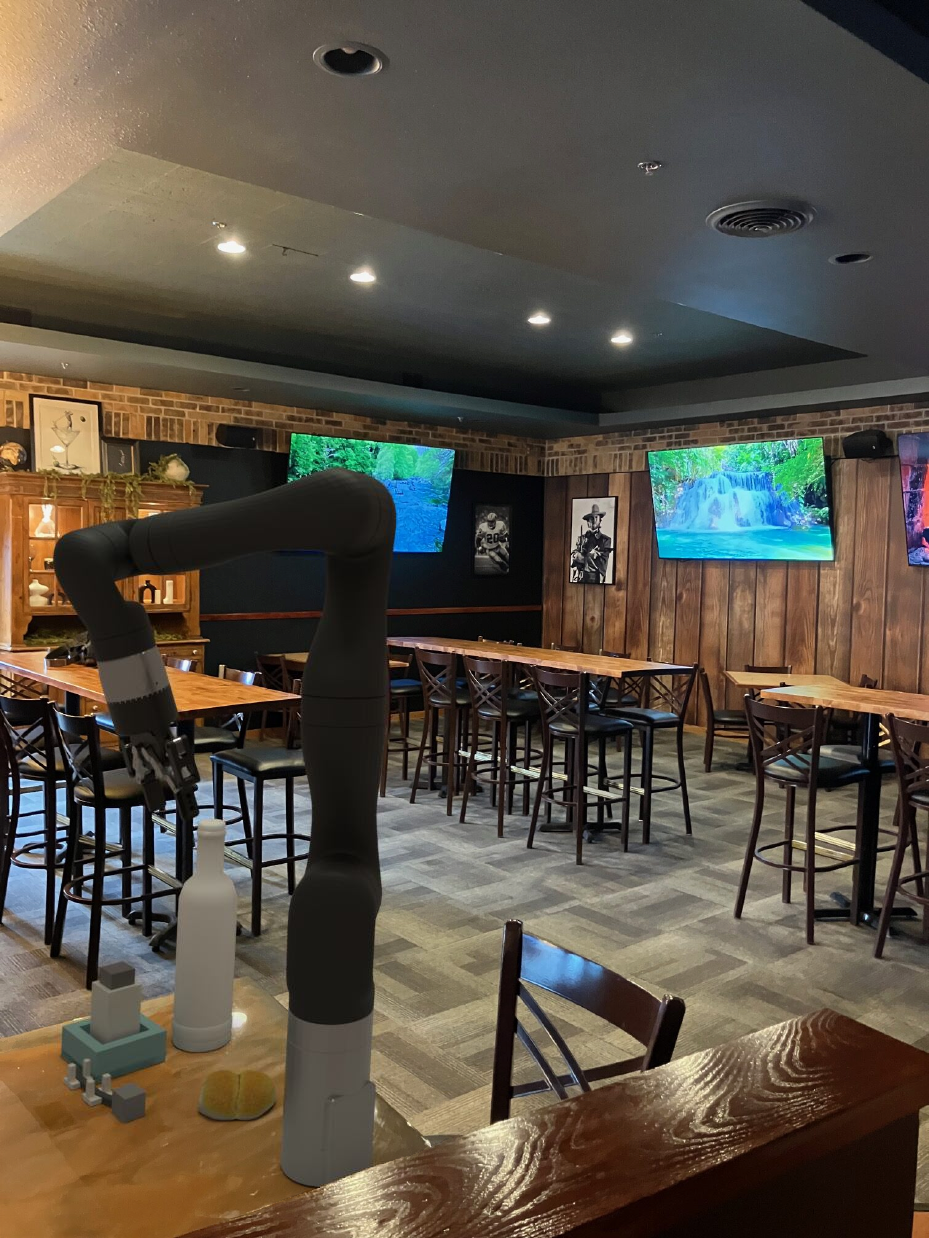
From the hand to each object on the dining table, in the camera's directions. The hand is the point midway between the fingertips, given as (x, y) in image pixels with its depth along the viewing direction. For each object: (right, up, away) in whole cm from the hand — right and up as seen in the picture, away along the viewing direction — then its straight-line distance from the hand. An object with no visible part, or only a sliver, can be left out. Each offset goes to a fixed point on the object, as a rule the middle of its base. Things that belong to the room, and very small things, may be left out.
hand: (174, 813), depth 120 cm
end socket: (-10, -33, +7) cm, 35 cm away
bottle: (0, -34, +13) cm, 36 cm away
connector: (-10, -32, +7) cm, 34 cm away
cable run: (-8, -34, -3) cm, 35 cm away
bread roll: (+8, -35, -3) cm, 36 cm away
